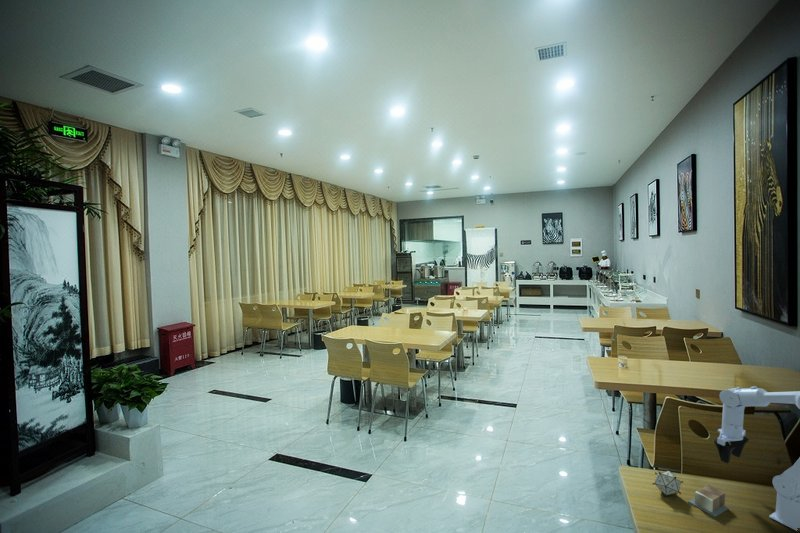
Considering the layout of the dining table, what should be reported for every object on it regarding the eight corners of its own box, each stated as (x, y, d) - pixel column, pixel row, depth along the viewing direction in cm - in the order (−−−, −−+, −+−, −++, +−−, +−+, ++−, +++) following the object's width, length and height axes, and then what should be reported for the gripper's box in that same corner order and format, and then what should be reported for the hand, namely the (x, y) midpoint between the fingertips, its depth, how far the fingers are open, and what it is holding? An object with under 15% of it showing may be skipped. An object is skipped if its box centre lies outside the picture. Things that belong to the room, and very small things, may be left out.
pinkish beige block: (725, 493, 134) (712, 500, 130) (724, 504, 134) (711, 512, 130) (708, 484, 138) (695, 491, 134) (707, 495, 138) (694, 503, 135)
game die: (673, 506, 139) (692, 495, 133) (648, 495, 141) (665, 484, 134) (669, 481, 146) (686, 469, 140) (645, 471, 147) (661, 459, 141)
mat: (728, 509, 132) (728, 507, 132) (715, 517, 129) (715, 516, 129) (701, 494, 139) (701, 493, 139) (688, 502, 136) (688, 501, 136)
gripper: (729, 413, 148) (727, 448, 149) (708, 422, 142) (706, 458, 143) (753, 420, 142) (751, 457, 143) (731, 430, 135) (729, 469, 137)
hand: (730, 458), depth 143 cm, fingers open, 7 cm apart
